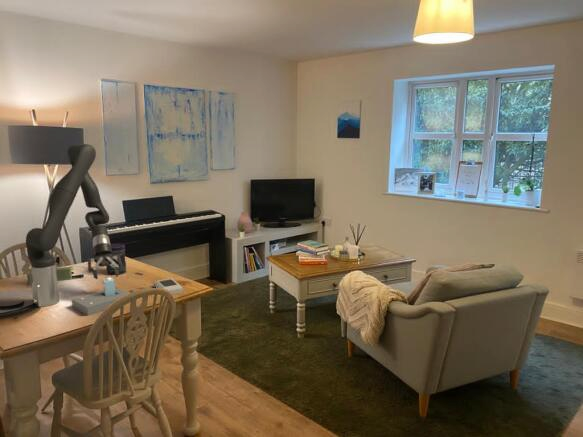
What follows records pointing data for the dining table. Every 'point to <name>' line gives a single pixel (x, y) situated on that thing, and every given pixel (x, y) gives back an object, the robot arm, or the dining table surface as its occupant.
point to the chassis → (96, 301)
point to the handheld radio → (62, 274)
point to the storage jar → (116, 249)
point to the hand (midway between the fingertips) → (107, 277)
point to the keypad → (168, 285)
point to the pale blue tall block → (109, 287)
